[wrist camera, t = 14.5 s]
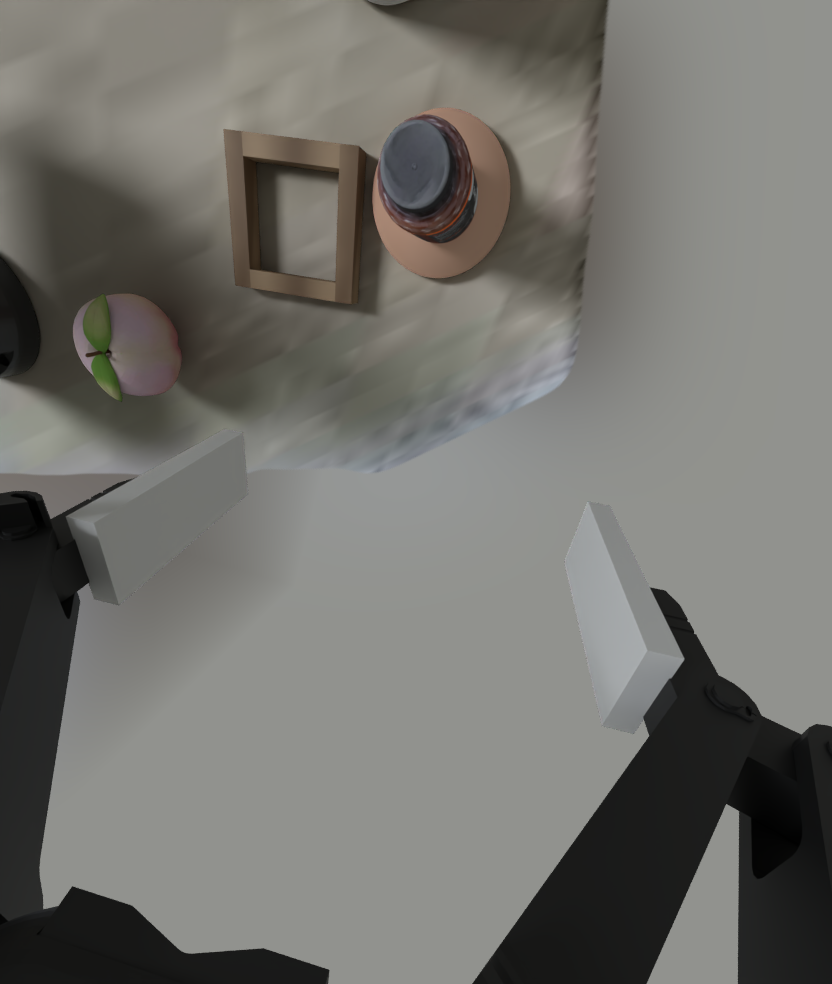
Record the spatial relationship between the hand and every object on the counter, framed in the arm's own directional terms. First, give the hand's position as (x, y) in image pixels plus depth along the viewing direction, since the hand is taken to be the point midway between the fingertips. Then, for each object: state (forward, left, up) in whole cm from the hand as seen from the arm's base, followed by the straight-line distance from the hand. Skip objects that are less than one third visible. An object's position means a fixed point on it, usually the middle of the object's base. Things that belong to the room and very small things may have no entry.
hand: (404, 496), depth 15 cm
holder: (-16, +9, -27) cm, 33 cm away
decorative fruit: (-31, -3, -27) cm, 41 cm away
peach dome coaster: (-4, +12, -27) cm, 30 cm away
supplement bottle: (-4, +12, -26) cm, 29 cm away
